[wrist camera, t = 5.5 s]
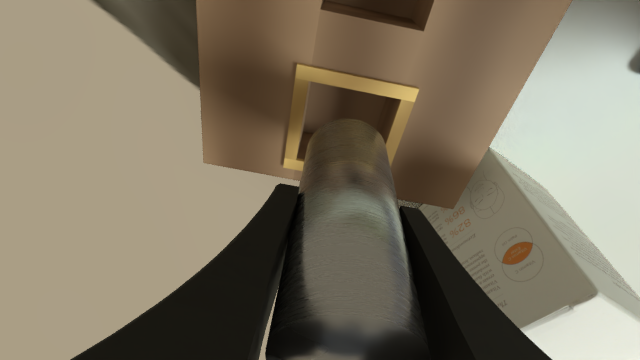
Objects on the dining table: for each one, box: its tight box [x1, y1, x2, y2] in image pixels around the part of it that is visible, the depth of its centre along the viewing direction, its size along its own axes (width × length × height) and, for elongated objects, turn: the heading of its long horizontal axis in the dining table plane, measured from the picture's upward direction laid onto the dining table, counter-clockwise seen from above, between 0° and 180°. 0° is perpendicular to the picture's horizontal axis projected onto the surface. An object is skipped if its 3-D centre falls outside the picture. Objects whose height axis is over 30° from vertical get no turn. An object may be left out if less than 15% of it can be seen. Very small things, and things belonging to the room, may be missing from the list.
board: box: [196, 0, 572, 209], centre depth 15 cm, size 14×14×4 cm
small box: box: [418, 147, 640, 360], centre depth 18 cm, size 8×6×10 cm
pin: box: [265, 119, 431, 360], centre depth 9 cm, size 3×3×8 cm
